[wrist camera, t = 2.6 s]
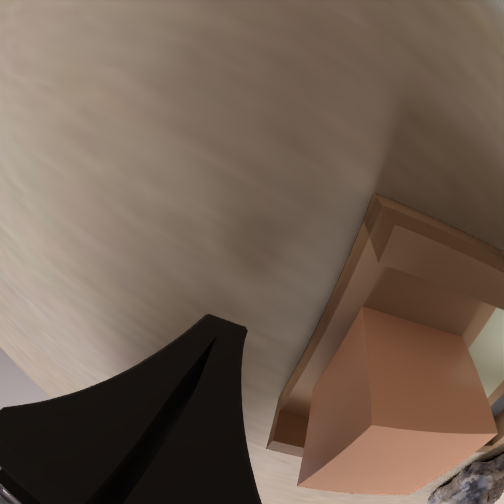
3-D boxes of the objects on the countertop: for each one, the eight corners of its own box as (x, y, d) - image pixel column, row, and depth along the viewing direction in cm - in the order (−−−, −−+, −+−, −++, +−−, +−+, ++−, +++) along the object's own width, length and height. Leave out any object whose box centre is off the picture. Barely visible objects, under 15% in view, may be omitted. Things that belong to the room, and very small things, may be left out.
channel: (484, 430, 12) (492, 464, 9) (278, 398, 14) (265, 448, 11) (585, 305, 7) (610, 337, 4) (373, 192, 9) (394, 224, 6)
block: (402, 408, 10) (408, 494, 6) (312, 388, 11) (297, 486, 7) (462, 336, 8) (497, 433, 4) (361, 306, 9) (371, 425, 5)
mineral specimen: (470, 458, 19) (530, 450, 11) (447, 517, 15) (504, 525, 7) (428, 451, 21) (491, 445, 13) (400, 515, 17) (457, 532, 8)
